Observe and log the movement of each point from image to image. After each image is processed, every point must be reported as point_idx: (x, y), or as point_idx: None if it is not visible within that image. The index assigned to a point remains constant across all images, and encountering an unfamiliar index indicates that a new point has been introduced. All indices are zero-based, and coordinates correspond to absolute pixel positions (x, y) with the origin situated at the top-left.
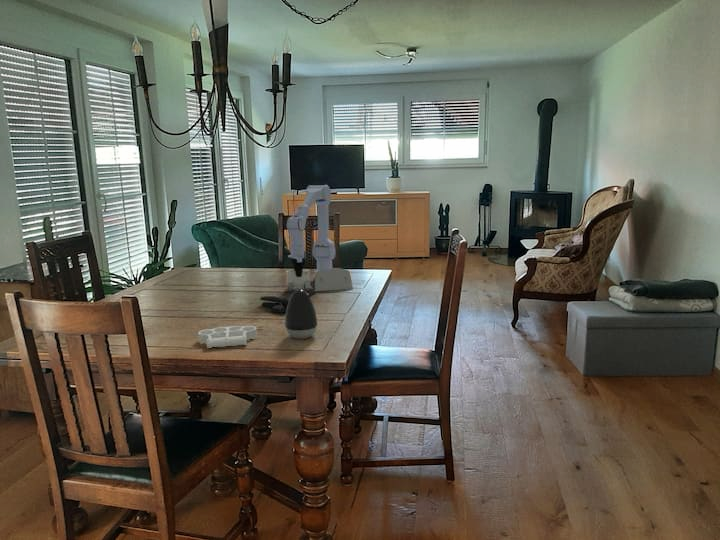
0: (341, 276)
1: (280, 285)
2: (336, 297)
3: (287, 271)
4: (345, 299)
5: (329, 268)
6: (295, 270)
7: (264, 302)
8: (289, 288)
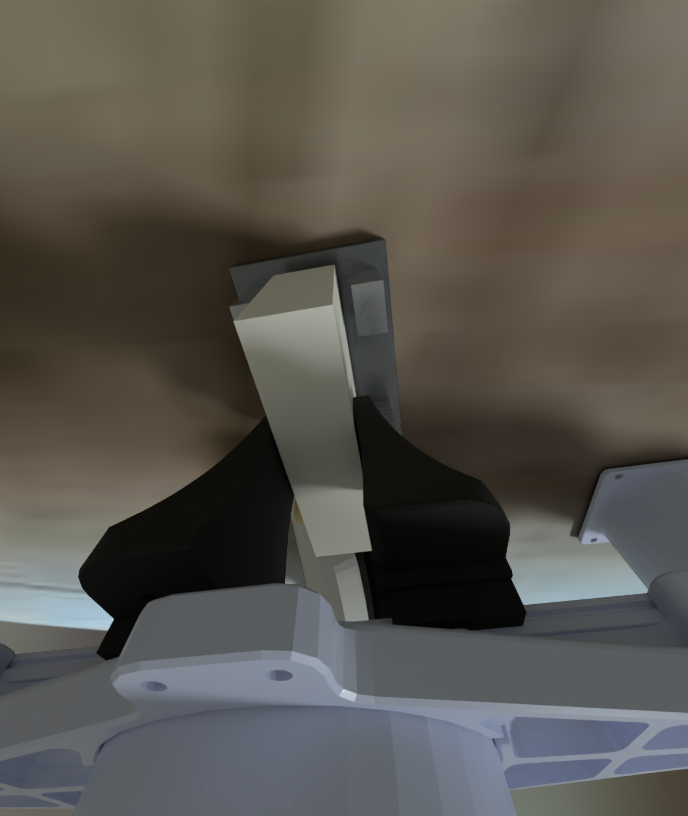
0: None
1: (581, 159)
2: None
3: (276, 330)
4: None
5: None
6: (230, 454)
7: None
8: (243, 294)
